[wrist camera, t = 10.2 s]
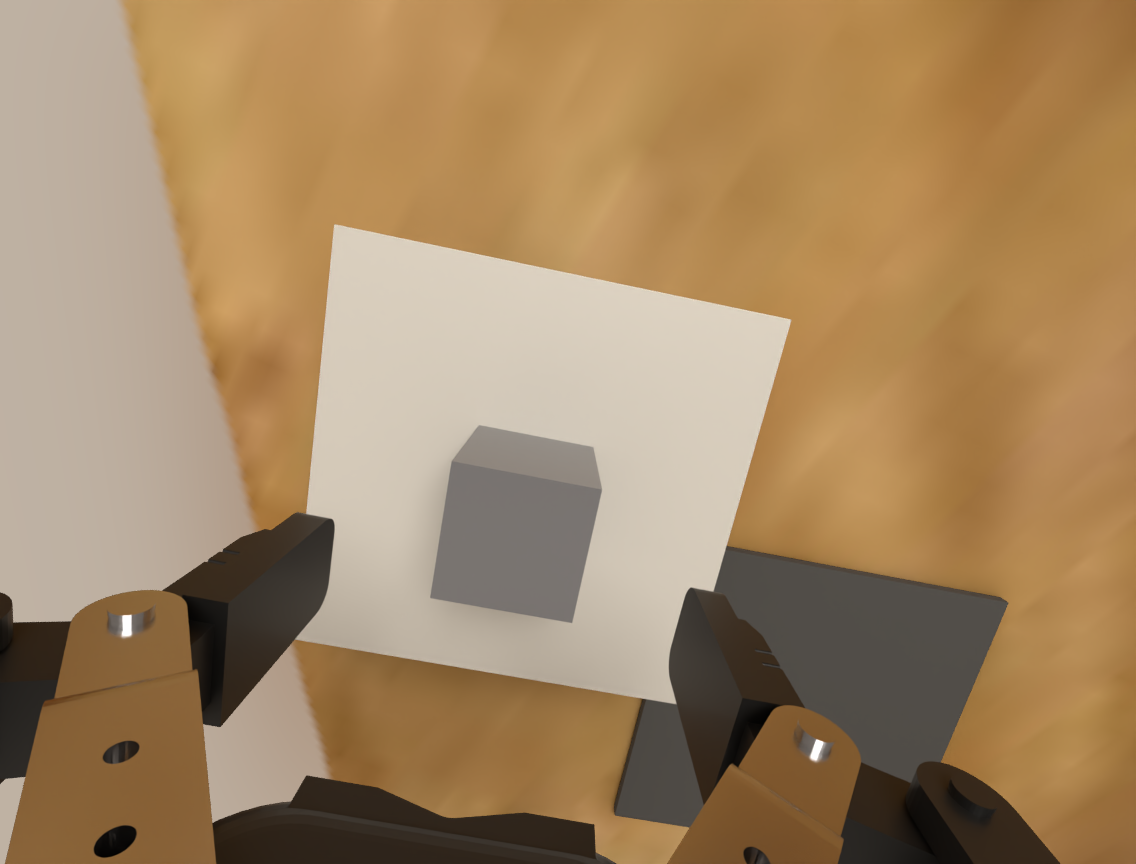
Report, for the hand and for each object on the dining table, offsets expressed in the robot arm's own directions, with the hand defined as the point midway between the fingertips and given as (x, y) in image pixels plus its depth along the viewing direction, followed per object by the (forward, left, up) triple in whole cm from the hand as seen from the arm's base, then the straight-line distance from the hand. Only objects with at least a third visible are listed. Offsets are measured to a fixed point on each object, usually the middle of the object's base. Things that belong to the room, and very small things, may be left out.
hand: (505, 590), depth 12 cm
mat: (-16, +11, -13) cm, 23 cm away
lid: (0, 0, -8) cm, 8 cm away
